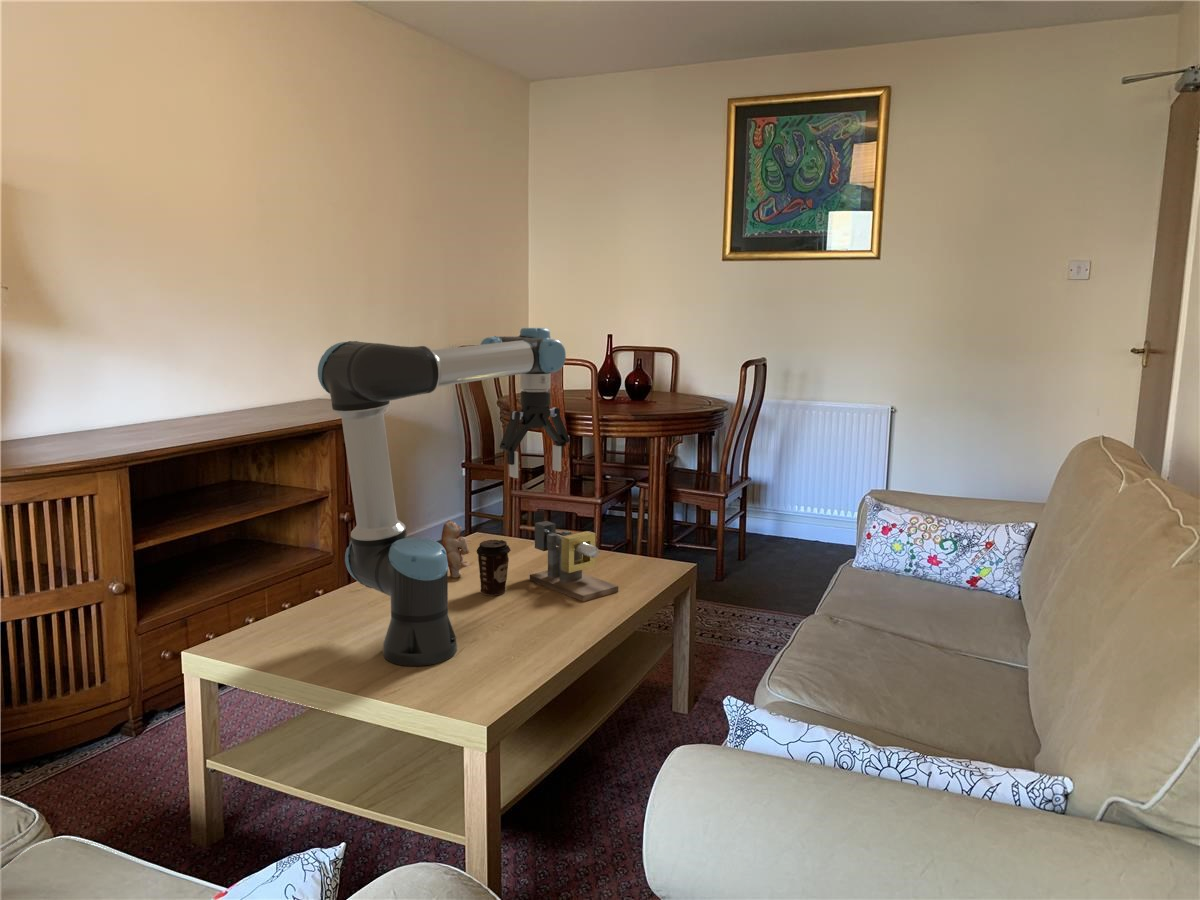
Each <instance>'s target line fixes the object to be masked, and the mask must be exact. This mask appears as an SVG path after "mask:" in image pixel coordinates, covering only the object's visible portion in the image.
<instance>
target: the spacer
mask: <svg viewBox="0 0 1200 900" xmlns="http://www.w3.org/2000/svg"><path fill="white" fill-rule="evenodd" d="M579 543H587V544H590V545H593V546H596V532H593V531H588V530H586V531H582V532H577V533H571V535H566V536H562V547H561V570H562V571H565V572H567V573H571V572H575V571H579V570H582V571H583V570H586V569H591V568H595V567H596V557H595V558H591V557H588V556H585V555H583V554H582V559H579V560H575V561H574V544H579Z"/></svg>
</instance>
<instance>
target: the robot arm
mask: <svg viewBox="0 0 1200 900" xmlns="http://www.w3.org/2000/svg"><path fill="white" fill-rule="evenodd" d="M566 357H567V356H566V348H565V346H564V345H563V343H562V342H561V341H559V340H558V339H555V338H554V339H552V338H551V332H550V330H549V329H548V328H546V327H522V328H521V329H520V331H519V336H496V335H494V336H489V337H485V338H483V339H482V341H481V342H480V344H477V345H476V344H475V345H466V346H457V347H447V348H440V349H439V348H437V349H431V348H429V347H428V346H426V345H420V346H405V345H401V346H400V345H395V344H387V343H380V342H379V343H378V342H376V343H375V342H366V341H357V340H354V341H353V340H349V341H342V342H341V341H340V342H337V343H334V344H333V345H331V346H330V347H329V348H327V349H326V350H325V351H324V353H323V354H322V355H321V357H320V359H319V362H318V365H317V379H318V382H319V384H320V386H321V387H322V388H323V390H324V391H325V392H327V393H328V394H329V396H330V403H331V408H332V411H333V412H334V413H335V414H337V415H338V416H339V417H340V418H341V422H342V430H343V437H344V444H345V445H344V446H345V451H346V458H347V466H348V473H349V479H350V487H351V493H352V501H353V508H354V515H355V521H356V526H355V527H354V528H353V529H352V531H350V541H349V545H348V547H346V550H345V555H344V563H345V566H346V568H347V569H346V570H347V571H348V573H349V574H350V576H351V577H352V578H353V579H354V580H356V581H357V582H358V583H359V584H361V585H362V586H365V587H366V588H369V589H373V590H375V591H377V592H380V593H383V594H384V595H387V596H389V597H390V622H389V624H388V628H387V631H386V634H385V637H384V640H383V645H382V651H383V658H384V659H385V660H386V661H387V662H389V663H392V664H394V665H398V666H406V667H423V666H424V667H425V666H429V665H430V666H431V665H436V664H439V663H443V662H444V661H446V660H449V659H451V658H452V657H454V655H456V653H457V652H458V651H457V650H458V645H457V641H458V640H457V637H456V635H455V632H454V628H453V626H452V623H451V620H450V617H449V608H448V607H449V605H448V602H449V600H448V599H449V597H448V596H449V595H448V594H449V593H448V591H449V589H448V588H449V587H448V586H449V585H448V580H449V579H448V578H449V577H448V570H449V567H448V562H447V554H446V550H445V548H444V547H443V545H442V543H441V542H438V541H436V540H433V539H430V538H421V537H417V536H416V537H415V536H414V537H408V536H407V528H406V524H404V523H403V522H402V521H401V520H399V519H398V514H397V508H396V507H397V506H396V499H395V492H394V484H393V476H392V466H391V462H390V460H391V459H390V454H389V453H390V452H389V445H388V436H387V430H386V421H385V415H384V413H385V411H386V410H387V408H388V407H389V406H390V404H391V403H390V402H391V401H396V400H401V399H406V398H410V397H416V396H419V395H426V394H432V393H433V392H434V391H435V390H437V388H438V387H444V386H450V385H458V384H464V383H471V382H477V381H483V380H484V381H485V380H491V379H497V378H503V377H504V378H505V377H510V376H516V375H517V376H518V375H520V376H519V377H520V383H519V384H520V386H519V387H520V389H521V392H520V393H519V394H520V406H521V409H520V411H517V410H511V411H510V414H509V415H510V416H509V422H508V424H507V426H506V429H505V432H504V434H503V436H502V439H501V442H500V445H499V449H501V450H503V451H505V452H506V463H507V465H509V467H508V468H509V469H508V471H509V474H508V475H509V477H510V478H514V479H519V451H517V449H518V447H519V446H520V444H521V442H522V441H523V439H524V438H525V436H526V435H527V433H528V431H530V430H531V429H537V428H542V429H544V430H545V432H546V433H547V434H548V436H549V437H550V439H551V440H552V442H553V443H554V444H552V471H554V472H555V471H556V472H562V459H563V457H564V447H565V446H567V443H570V441H571V440H570V436H569V434H568V431H567V429H566V427H565V425H564V421H563V420H562V419H563V418H562V416H561V409H560V408H559V407H554V406H553V407H551V408H550V406H551V405H552V404H551V401H552V399H551V398H552V395H551V394H552V393H551V391H550V389H551V386H552V385H551V383H552V382H551V381H552V380H551V379H552V377H551V376H552V375H551V374H552V373H556V372H558V371H560V370H561V369H562V368H563V366H564V365H565V363H566V362H565V361H566V359H567V358H566ZM549 418H551V420H550V419H549ZM551 421H552V422H551ZM553 425H554V426H553Z"/></svg>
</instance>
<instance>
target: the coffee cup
mask: <svg viewBox="0 0 1200 900" xmlns="http://www.w3.org/2000/svg"><path fill="white" fill-rule="evenodd" d="M510 552H511V548H510V546H509V544H508V543H507V541H506V540H502V539H500V540H498V539H488V540H487V539H486V540H483V541H481V542H480V543H479V546H478V547H477V549H476V554H477V555H478V556H477V559H478V571H479V582H480V593H481V594H482V595H485V596H491V597H493V596H498V595H502V594H504V593H506V587H507V586H506V585H507V580H508V579H507V578H508V569H509V563H510V561H509V555H508V554H509V553H510Z"/></svg>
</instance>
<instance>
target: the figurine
mask: <svg viewBox="0 0 1200 900" xmlns="http://www.w3.org/2000/svg"><path fill="white" fill-rule="evenodd" d="M462 528H463V527H462V526H460V525H457V523H456V522H455V521H453V520H452V519H449V520H447V521H446V522H445V523H444V525H443V527H442V531H441V545H442V546H443V547H444V548H445V550H446V554H447V562H448V570H449V574H450V578H453V579H454V578H458V577H461V574H460V573H459V571H460V570H462V569H463V568H466V567H469V566H470V562H469V561H465V558H464V556H466V555H468V554H470V550H469V547H468V542H467V540H466V537H465V536H460V534H461V532H462V531H463V530H462Z"/></svg>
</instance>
